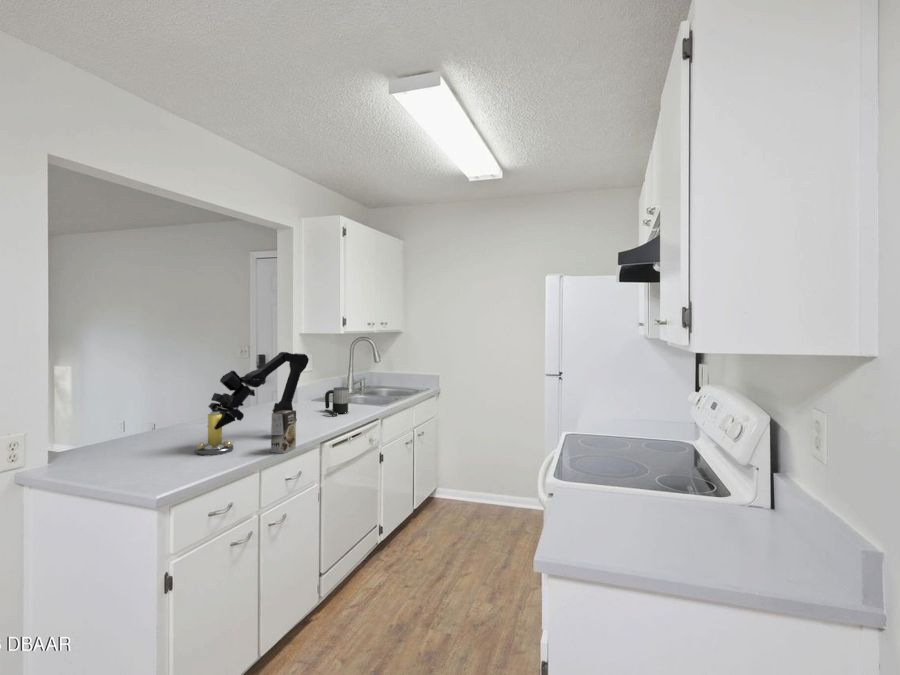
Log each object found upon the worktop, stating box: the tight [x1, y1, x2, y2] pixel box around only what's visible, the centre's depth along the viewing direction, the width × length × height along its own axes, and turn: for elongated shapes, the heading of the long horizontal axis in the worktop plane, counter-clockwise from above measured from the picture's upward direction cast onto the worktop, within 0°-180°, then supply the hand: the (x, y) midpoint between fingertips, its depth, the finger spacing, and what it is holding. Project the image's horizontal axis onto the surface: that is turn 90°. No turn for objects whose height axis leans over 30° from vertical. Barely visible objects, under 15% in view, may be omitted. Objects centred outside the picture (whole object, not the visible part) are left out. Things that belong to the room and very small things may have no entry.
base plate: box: [194, 440, 234, 456], centre depth 194 cm, size 14×14×4 cm
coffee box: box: [270, 409, 297, 454], centre depth 197 cm, size 9×6×16 cm
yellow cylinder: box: [207, 411, 223, 445], centre depth 194 cm, size 5×5×13 cm
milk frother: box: [324, 386, 350, 417], centre depth 277 cm, size 14×16×15 cm
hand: (211, 427), depth 193 cm, fingers closed on yellow cylinder, 5 cm apart
